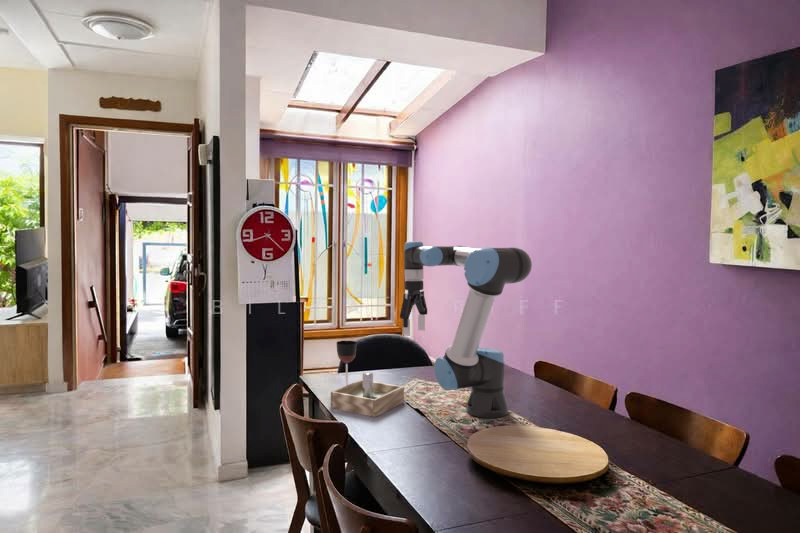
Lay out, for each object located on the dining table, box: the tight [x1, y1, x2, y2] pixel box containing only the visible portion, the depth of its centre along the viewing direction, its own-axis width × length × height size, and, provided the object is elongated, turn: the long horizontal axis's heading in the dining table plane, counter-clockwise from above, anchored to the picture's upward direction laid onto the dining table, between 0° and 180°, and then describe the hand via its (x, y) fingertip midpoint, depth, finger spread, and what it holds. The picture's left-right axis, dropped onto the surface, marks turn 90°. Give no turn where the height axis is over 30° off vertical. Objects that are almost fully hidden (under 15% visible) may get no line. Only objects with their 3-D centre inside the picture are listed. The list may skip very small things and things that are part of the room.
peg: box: [362, 371, 374, 399], centre depth 201 cm, size 4×4×12 cm
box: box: [330, 379, 405, 418], centre depth 201 cm, size 20×20×6 cm
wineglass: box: [336, 340, 357, 386], centre depth 221 cm, size 8×9×20 cm
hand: (414, 332), depth 211 cm, fingers open, 13 cm apart
